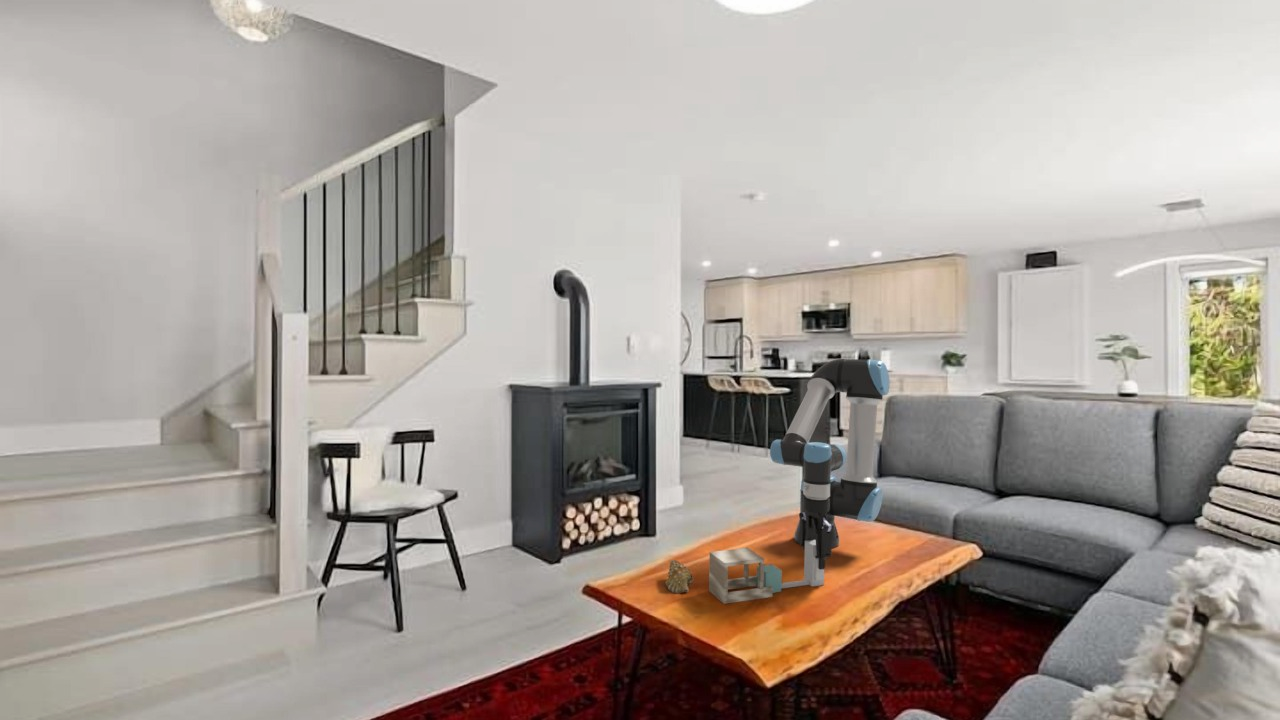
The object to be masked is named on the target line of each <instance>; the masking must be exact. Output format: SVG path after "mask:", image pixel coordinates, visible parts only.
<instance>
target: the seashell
mask: <svg viewBox="0 0 1280 720" xmlns="http://www.w3.org/2000/svg"><path fill="white" fill-rule="evenodd" d="M668 569H669V570H668V572H667V573H668V578H667V580H666V581H665V585H666V588H667V589H668V590H669V591H670V592H671V593H673V594H683V593H688V592H689V586H688V585H691V584H692V583H693V581H694V577H693V575H692V573H691V571H690V569H689V567H688V566H687V565H684V564H683V563H681V562H679V561H677V560H676V559H672V560H670V563H669V568H668Z"/></svg>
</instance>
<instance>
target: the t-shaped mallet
mask: <svg viewBox="0 0 1280 720" xmlns="http://www.w3.org/2000/svg"><path fill="white" fill-rule="evenodd" d="M815 556H817V549H816V540H808V541H805V550H804V563H803V564H804V567H803V568H804V569H803V580H795V581H787V582H782V577H783V576H782V575H783V570H782V569H780V568H778V567H777V566H775V565H774V564H764V582H763V587H770V586H771V587H772V588H773V594H774V593H781V592H782V589H788V588H794V587H802V586H811V587H819V586H824V584H825V578H824V579H822V580H815ZM756 576H757V586H756V588H758V576H759V565H756Z"/></svg>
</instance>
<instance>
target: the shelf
mask: <svg viewBox="0 0 1280 720" xmlns="http://www.w3.org/2000/svg"><path fill="white" fill-rule="evenodd" d="M708 559H709V562H708V563H709V564H708V565H709V566H708V568H709V569H708V570H709V571H708V574H709V575H708V591H709V593H711V594H712V595H713V596H714V597H715V598H716V599H717V600H719V601H720V602H721V603H722V604H724V605H725V604H726V605H727V604H732V603H739V602H746V601H752V600H760V599H766V598H772V597H774V596H773V594H774V593H773V588H772V587H771V586H770V587H763V582H764V565H765V558H764V557H763V556H761V555H759V554H758V553H756V552H754V550H751V549H750V548H748V547H741V548H734V549H733V548H732V549H725V550H713V551H709V558H708ZM750 564H751V565H752V564H758V566H759V576H758V588H757V575H752V576H750V575H749V570H750V568H749V566H750ZM742 565H743V577H742V576H741V577H737V578H729V577H728V576H729V567H733V566H734V567H735V566H742ZM749 587H756V588H751V589H749ZM744 588H748V589H744ZM734 589H735V590H736V589H741V590H736V591H735V590H734ZM742 589H743V590H742ZM728 590H734V591H728Z"/></svg>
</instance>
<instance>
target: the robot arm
mask: <svg viewBox="0 0 1280 720" xmlns="http://www.w3.org/2000/svg"><path fill="white" fill-rule="evenodd" d="M888 370H889V369H888V368H887V366H886V364H885V363H884V362H883V361H882V360H876V359H860V358H859V359H857V358H855V359H853V358H852V359H847V358H846V359H845V358H836V359H832V360H830V361H828V362H826V363H824V364H823V365H822V366H820V367H818V369H817V370H816V371H815V372H814V373H813V374H812V375H811V377H810V378H809V380H808V382H807V385H806V387H807V391H806V393H805V395H804V397H803V399H802V402H800V403H801V404H800V405H799V407H798V409H797V411H796V413H795V415H794V417H793V419H792V420H791V423H790V425H789V428H788V429H787V431H786V433H785V435H784V437H783V439H781V438H780V439H775V440H773V441H772V442H771V445H770V450H769V455H770V459H771V461H772V462H773V463H775V464H780V465H784V466H792V467H801V468H803V478H802V479H801V482H800V490H799V493H800V495H799V496H800V502H799V503H800V506H799V507H800V509H799V513H798V516H799V520H798V522H797V525H796V530H795V532H794V535H793V536H794V541H795V542H796V543H797V544H799V545H800V547H802V548H803V551H805V541H808V540H816V549H817V556H815V580H822V579H824V580H825V569H826V559H828V558H831V556H832V549H833V548H837V547H838V546H839V545H840V536H839V532H838V529H837V525H836V523H835V517H839V518H844V519H845V518H846V519H849V520H856V521H857V522H867V523H871V522H873V521H875V520H876V519H877V517H878V515H879V513H880V510H881V507H882V503H883V490H882V489H881V488H880V487H879V486H878V480H876V478H875V477H874V474H873V473H874V462H875V446H876V445H875V444H876V429H877V415H878V405H879V404H880V403H881V402H882V401H883V397H884V396H887V395H888V394H889V390H890V376H889V371H888ZM836 393H845V394H846V399H847V400H848V402H849V403H850V405H849V407H850V408H849V418H848V419H849V421H848V436H847V437H848V438H847V450H846V451H847V452H846V451H845V449H844V448H843V447H842V446H841V445H839V444H834V443H832V444H831V443H825V442H818V441H815V442H814V441H812V442H810V440H811V437H812V436H813V433H814V432H815V429H816V428H817V425H818V423H819V421H820V419H821V417H822V415H823V412H824V410H825V408H826V406H827V404H828V402H829V400H830V399H832V398H833V397H834V396H835V394H836ZM845 464H846V466H845V473H844V474H843V475H842V476H841V477H840V481H837V479H836V477H835V475H831V473H832V472H834V471H836V470H837V471H838V470H839V469H841V467H843V466H844V465H845Z"/></svg>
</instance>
